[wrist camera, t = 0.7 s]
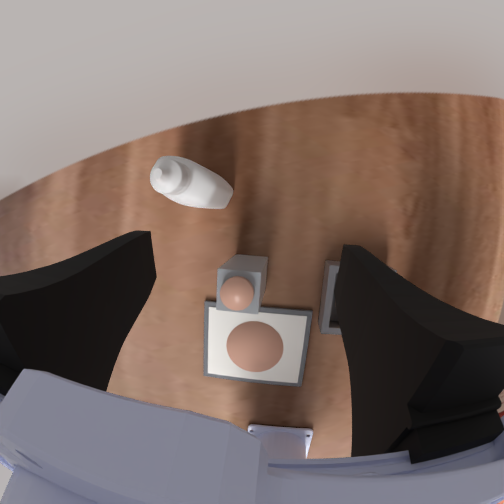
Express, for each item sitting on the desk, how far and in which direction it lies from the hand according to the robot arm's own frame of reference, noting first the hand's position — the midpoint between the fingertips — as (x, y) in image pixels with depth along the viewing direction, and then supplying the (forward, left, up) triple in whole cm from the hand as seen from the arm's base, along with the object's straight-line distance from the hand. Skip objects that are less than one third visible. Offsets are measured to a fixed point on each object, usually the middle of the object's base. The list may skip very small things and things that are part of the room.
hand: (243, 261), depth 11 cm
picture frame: (-12, +1, -19) cm, 22 cm away
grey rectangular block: (-4, +2, -19) cm, 19 cm away
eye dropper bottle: (+4, +7, -19) cm, 20 cm away
